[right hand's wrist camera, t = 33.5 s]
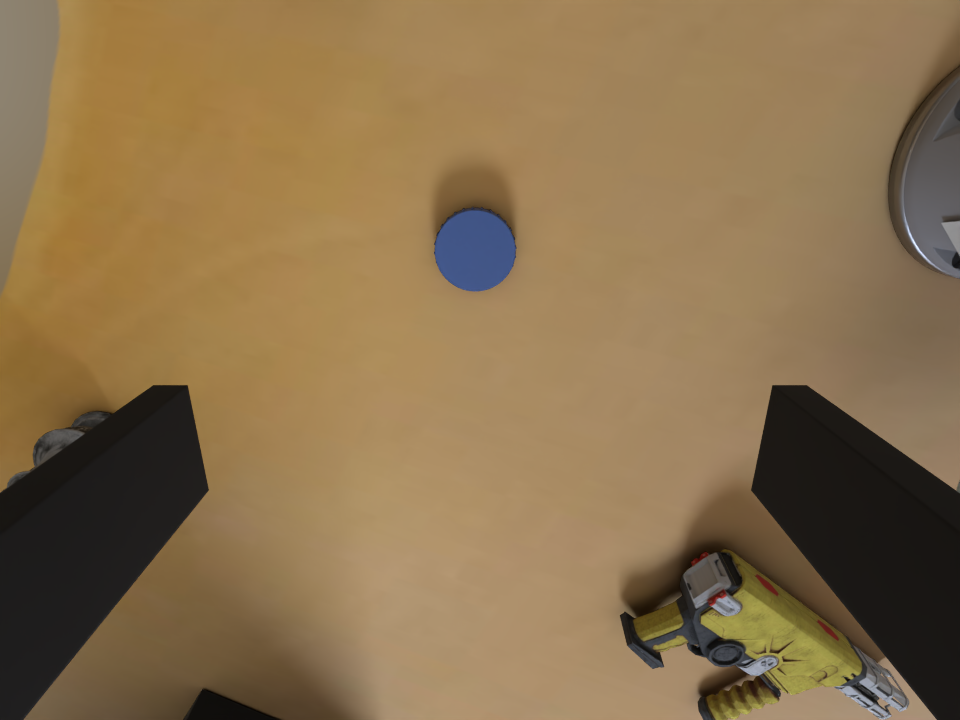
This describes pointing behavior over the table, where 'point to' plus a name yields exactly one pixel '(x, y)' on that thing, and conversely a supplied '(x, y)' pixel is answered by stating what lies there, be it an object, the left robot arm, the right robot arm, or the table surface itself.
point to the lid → (475, 249)
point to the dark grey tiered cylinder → (61, 440)
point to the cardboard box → (220, 709)
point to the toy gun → (757, 640)
